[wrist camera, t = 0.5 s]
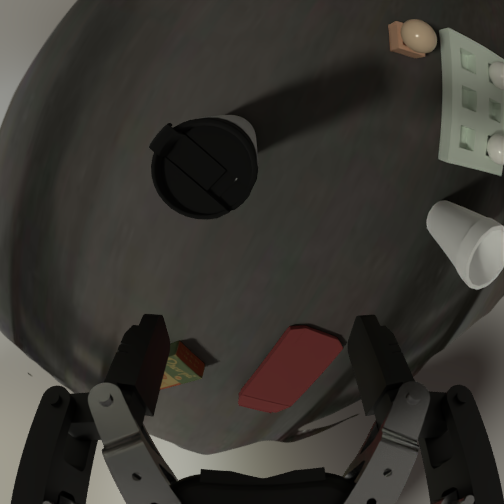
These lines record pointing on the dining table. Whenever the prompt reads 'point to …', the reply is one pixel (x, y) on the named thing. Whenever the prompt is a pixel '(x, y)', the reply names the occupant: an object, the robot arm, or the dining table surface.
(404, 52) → the egg cup
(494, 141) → the white egg
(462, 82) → the egg tray
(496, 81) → the white egg
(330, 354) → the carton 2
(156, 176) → the travel mug
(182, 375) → the carton
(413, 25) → the brown egg
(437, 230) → the foam cup
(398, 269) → the dining table surface
